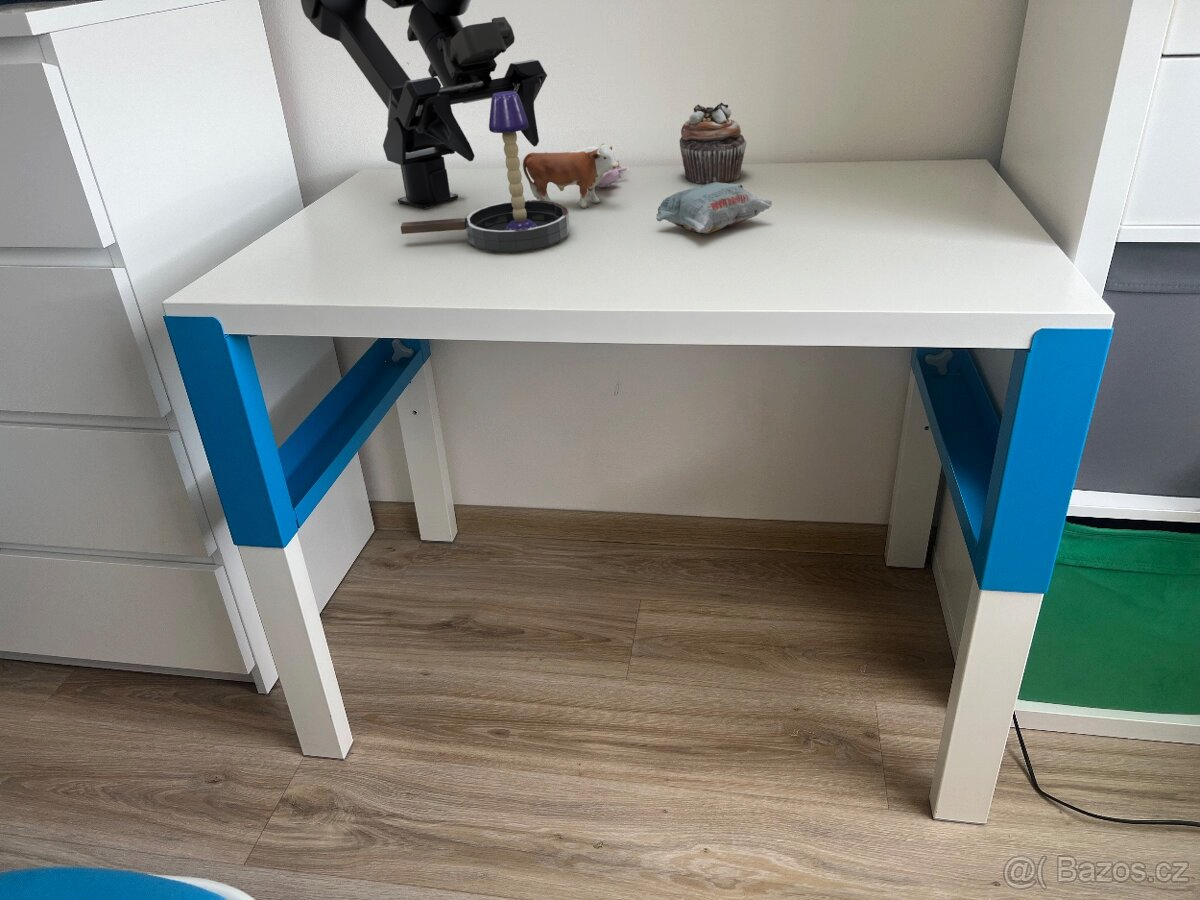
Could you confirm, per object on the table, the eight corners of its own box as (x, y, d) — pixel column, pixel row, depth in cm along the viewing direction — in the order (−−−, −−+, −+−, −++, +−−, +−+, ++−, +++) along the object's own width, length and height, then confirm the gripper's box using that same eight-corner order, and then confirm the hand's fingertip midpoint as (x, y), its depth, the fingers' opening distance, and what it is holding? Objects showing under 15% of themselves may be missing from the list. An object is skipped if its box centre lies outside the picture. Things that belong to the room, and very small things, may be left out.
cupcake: (683, 187, 125) (682, 114, 119) (677, 170, 133) (676, 100, 128) (750, 183, 124) (752, 109, 119) (740, 166, 133) (741, 96, 127)
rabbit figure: (591, 181, 135) (571, 193, 122) (590, 140, 133) (569, 148, 119) (631, 181, 134) (615, 192, 120) (630, 140, 132) (614, 147, 118)
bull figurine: (618, 211, 117) (615, 148, 113) (523, 209, 120) (517, 148, 116) (625, 201, 121) (623, 140, 116) (533, 200, 124) (527, 140, 119)
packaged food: (770, 223, 109) (772, 183, 106) (699, 246, 103) (698, 205, 100) (722, 210, 115) (723, 172, 112) (652, 231, 109) (651, 191, 107)
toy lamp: (494, 237, 109) (476, 95, 100) (515, 226, 112) (500, 88, 104) (526, 241, 107) (510, 97, 98) (547, 230, 110) (534, 89, 101)
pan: (447, 242, 110) (443, 220, 109) (521, 215, 118) (518, 194, 116) (516, 261, 102) (513, 238, 101) (590, 232, 110) (589, 210, 109)
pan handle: (467, 225, 110) (465, 217, 109) (465, 229, 108) (464, 221, 108) (403, 230, 110) (402, 222, 109) (401, 234, 108) (400, 226, 108)
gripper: (390, 3, 95) (454, 122, 94) (531, -14, 105) (592, 94, 103) (372, 73, 105) (431, 182, 103) (503, 52, 114) (559, 152, 113)
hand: (505, 151), depth 105 cm, fingers open, 9 cm apart
